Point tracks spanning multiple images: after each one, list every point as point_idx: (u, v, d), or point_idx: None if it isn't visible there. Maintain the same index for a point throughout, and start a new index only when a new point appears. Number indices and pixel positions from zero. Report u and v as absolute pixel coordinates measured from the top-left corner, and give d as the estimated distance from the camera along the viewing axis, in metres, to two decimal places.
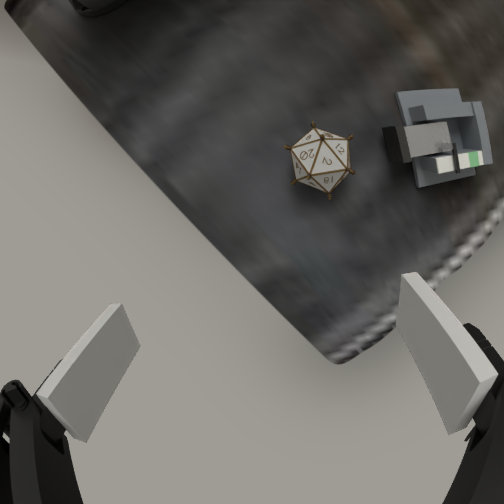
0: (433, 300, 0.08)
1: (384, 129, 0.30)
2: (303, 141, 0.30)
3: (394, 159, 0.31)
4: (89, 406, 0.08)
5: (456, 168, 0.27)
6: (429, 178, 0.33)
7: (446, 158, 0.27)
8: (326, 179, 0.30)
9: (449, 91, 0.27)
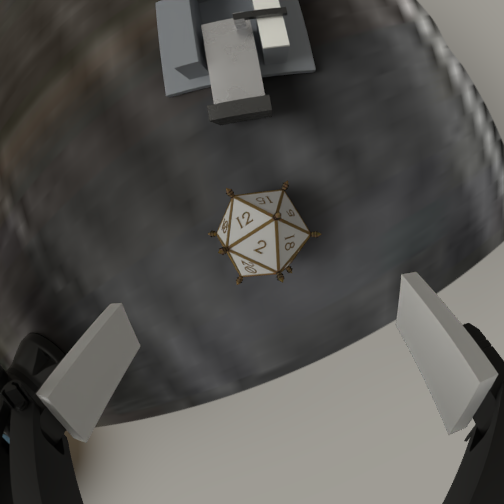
0: (433, 300, 0.08)
1: (221, 123, 0.22)
2: None
3: (268, 114, 0.21)
4: (89, 406, 0.08)
5: (278, 13, 0.14)
6: (300, 51, 0.20)
7: (262, 29, 0.16)
8: (288, 246, 0.21)
9: (160, 15, 0.19)
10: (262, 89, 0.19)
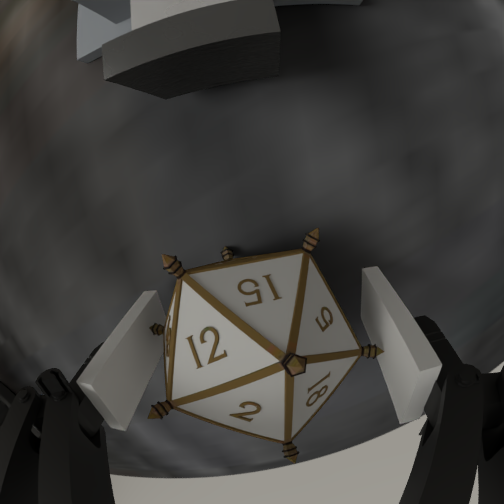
0: (387, 292, 0.10)
1: (163, 94, 0.09)
2: None
3: (270, 64, 0.07)
4: (129, 393, 0.09)
5: None
6: None
7: None
8: (314, 397, 0.08)
9: None
10: None
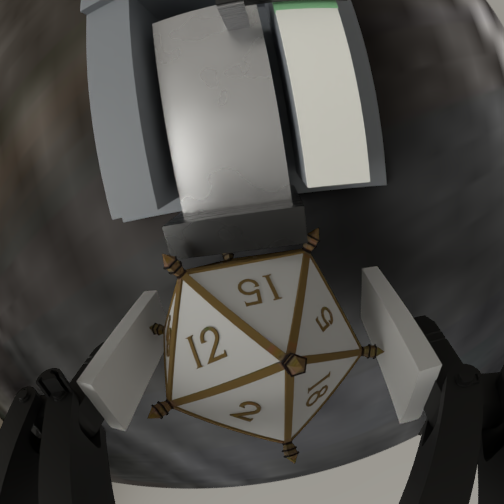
0: (387, 292, 0.10)
1: None
2: None
3: None
4: (129, 393, 0.09)
5: None
6: None
7: (308, 131, 0.07)
8: (314, 397, 0.08)
9: None
10: (285, 177, 0.09)
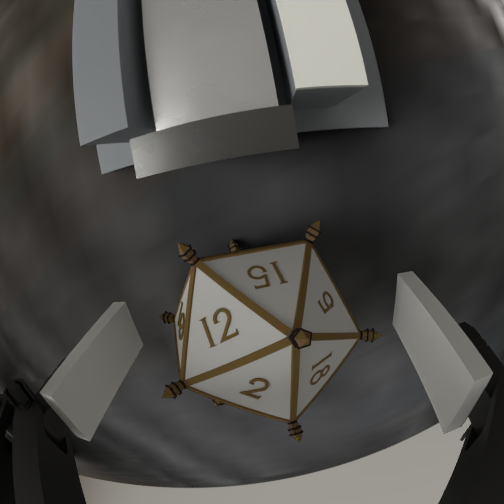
0: (429, 299, 0.09)
1: None
2: None
3: None
4: (93, 405, 0.08)
5: None
6: None
7: (294, 32, 0.06)
8: (317, 376, 0.09)
9: None
10: (271, 88, 0.07)
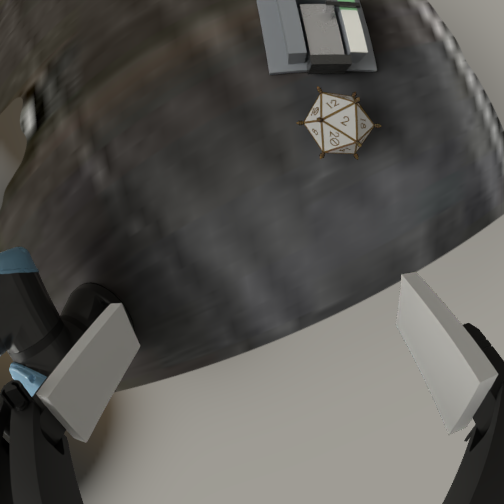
0: (433, 300, 0.08)
1: (310, 72, 0.27)
2: (318, 137, 0.28)
3: (344, 69, 0.26)
4: (89, 406, 0.08)
5: (355, 6, 0.20)
6: (367, 56, 0.26)
7: (350, 38, 0.22)
8: (362, 125, 0.25)
9: (262, 11, 0.25)
10: (343, 52, 0.24)
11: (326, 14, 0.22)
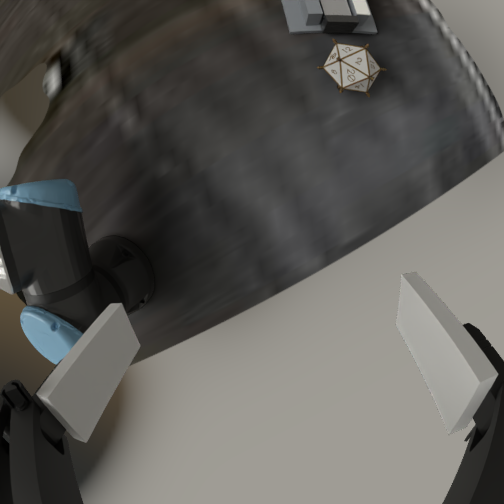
0: (433, 300, 0.08)
1: (324, 31, 0.29)
2: (336, 76, 0.30)
3: (352, 29, 0.28)
4: (89, 406, 0.08)
5: None
6: (368, 21, 0.28)
7: (356, 4, 0.24)
8: (372, 66, 0.27)
9: None
10: (350, 15, 0.26)
11: None
